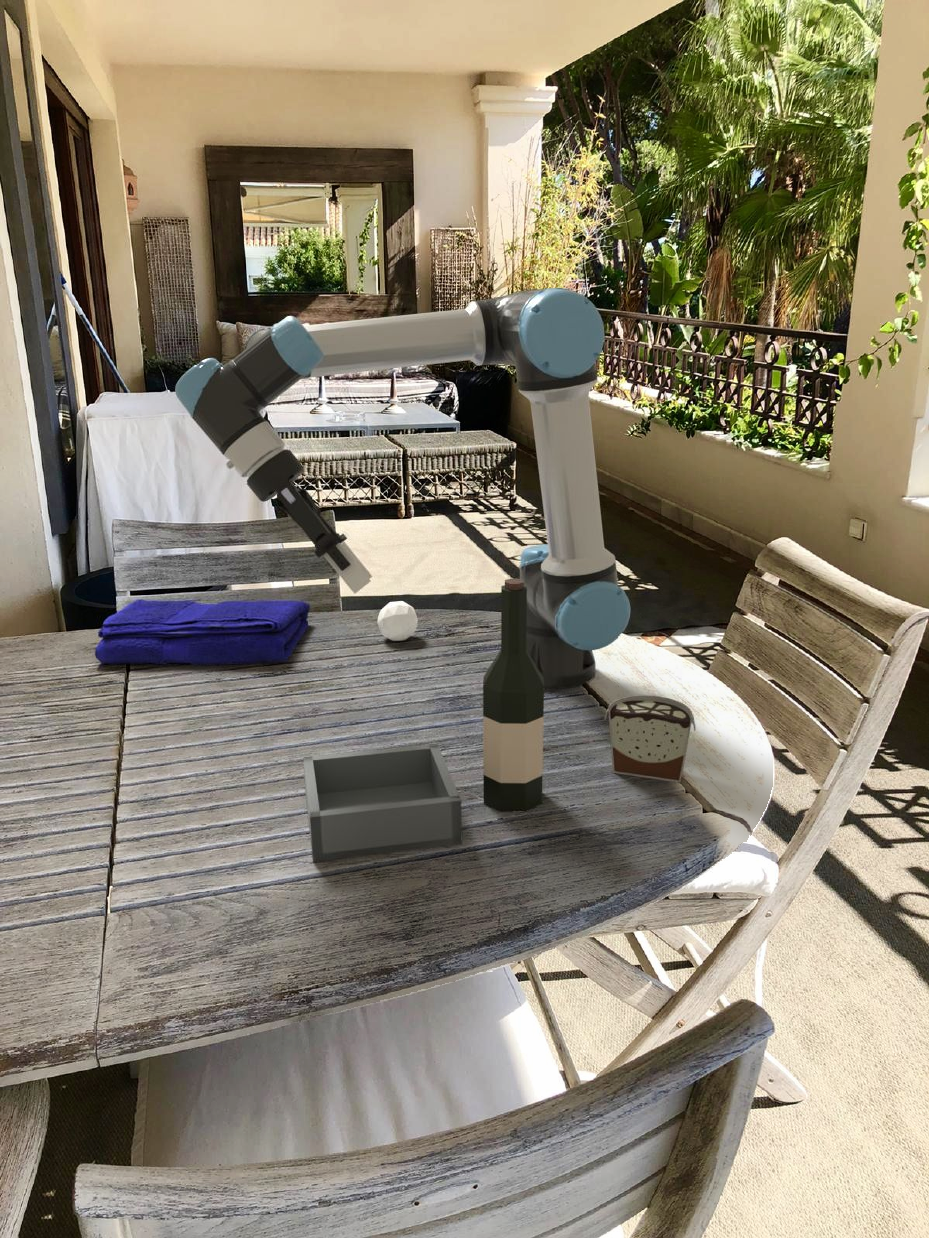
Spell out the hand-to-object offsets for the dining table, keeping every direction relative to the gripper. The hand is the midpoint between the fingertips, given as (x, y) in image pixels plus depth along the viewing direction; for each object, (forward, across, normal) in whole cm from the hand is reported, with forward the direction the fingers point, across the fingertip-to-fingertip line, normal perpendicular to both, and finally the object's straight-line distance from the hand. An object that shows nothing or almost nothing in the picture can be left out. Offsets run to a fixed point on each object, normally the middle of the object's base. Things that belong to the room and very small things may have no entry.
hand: (364, 585), depth 136 cm
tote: (+24, +14, -17) cm, 33 cm away
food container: (+45, +4, +15) cm, 48 cm away
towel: (-8, -55, -34) cm, 65 cm away
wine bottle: (+34, +10, -2) cm, 36 cm away
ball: (+14, -53, -4) cm, 55 cm away
